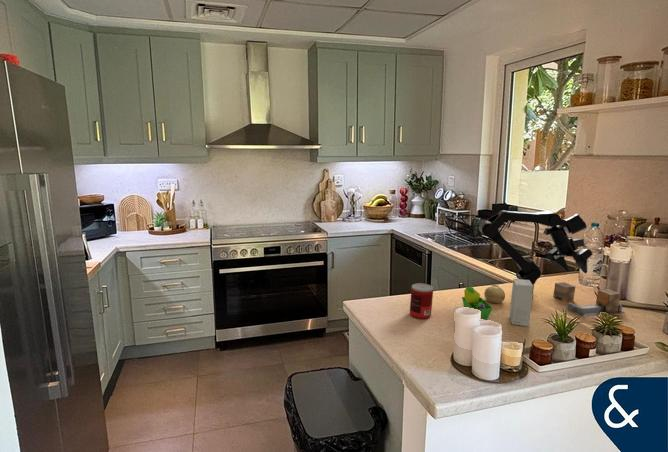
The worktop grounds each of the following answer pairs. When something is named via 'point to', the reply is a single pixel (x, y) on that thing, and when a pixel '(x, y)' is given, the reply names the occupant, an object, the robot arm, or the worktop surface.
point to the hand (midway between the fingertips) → (576, 272)
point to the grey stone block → (564, 291)
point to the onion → (494, 294)
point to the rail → (585, 314)
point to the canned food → (421, 301)
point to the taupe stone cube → (608, 299)
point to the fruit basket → (476, 302)
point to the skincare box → (521, 302)
